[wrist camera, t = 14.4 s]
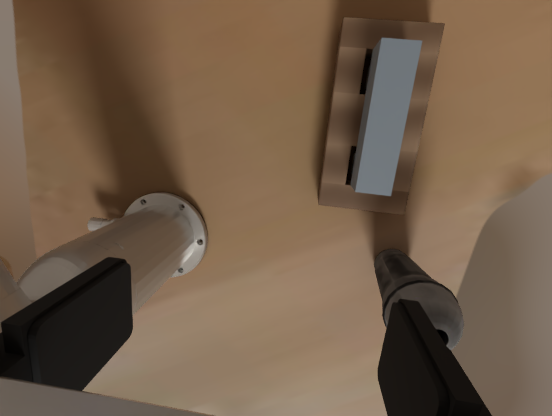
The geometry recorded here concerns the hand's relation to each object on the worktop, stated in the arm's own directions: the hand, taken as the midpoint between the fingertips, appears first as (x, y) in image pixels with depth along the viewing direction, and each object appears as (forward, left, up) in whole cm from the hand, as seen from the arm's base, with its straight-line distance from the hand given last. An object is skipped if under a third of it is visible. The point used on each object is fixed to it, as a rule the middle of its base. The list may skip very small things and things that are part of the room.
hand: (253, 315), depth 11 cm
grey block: (+8, +8, -30) cm, 32 cm away
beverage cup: (+14, -10, -31) cm, 35 cm away
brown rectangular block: (+8, +8, -30) cm, 32 cm away
